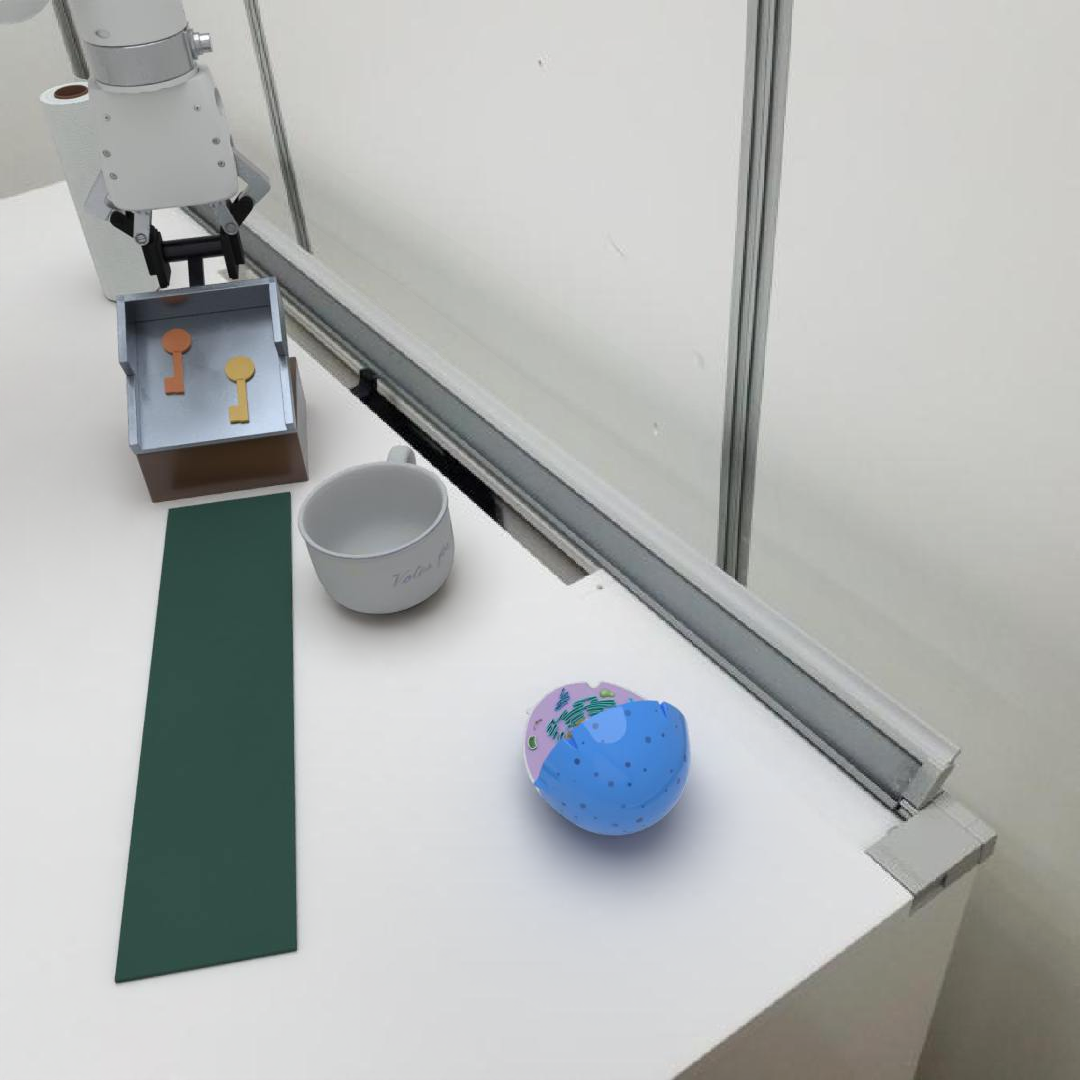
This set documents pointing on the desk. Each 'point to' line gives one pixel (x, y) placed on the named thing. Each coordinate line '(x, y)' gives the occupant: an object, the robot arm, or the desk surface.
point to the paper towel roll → (81, 166)
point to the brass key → (240, 386)
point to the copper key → (176, 358)
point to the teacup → (380, 534)
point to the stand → (231, 460)
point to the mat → (216, 748)
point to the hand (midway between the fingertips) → (200, 274)
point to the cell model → (607, 756)
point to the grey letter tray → (204, 357)
